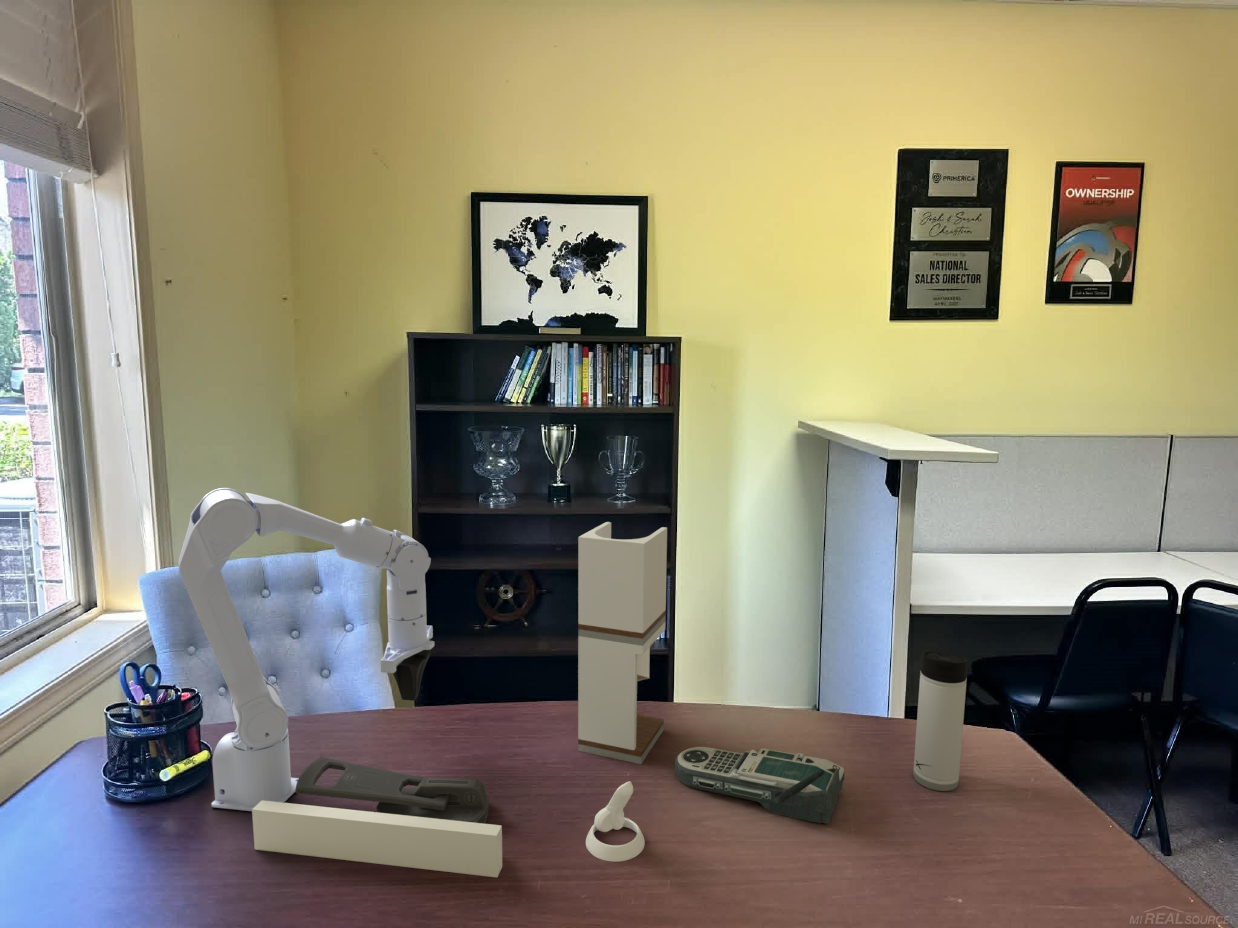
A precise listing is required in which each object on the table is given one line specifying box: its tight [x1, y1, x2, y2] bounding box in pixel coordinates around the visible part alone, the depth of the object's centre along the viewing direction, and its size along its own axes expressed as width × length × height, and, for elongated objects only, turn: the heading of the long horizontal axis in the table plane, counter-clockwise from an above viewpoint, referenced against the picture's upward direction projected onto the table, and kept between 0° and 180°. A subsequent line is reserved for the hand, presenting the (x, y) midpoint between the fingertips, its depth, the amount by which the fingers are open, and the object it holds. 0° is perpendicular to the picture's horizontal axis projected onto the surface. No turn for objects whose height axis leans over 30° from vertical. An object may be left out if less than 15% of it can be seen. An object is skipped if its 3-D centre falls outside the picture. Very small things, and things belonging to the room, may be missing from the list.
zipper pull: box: [294, 756, 489, 824], centre depth 103 cm, size 9×7×25 cm
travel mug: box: [912, 650, 969, 792], centre depth 112 cm, size 6×7×20 cm
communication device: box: [674, 746, 845, 825], centre depth 110 cm, size 12×24×9 cm, turn 63°
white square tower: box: [577, 521, 668, 765], centre depth 122 cm, size 11×11×35 cm
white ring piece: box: [585, 781, 646, 863], centre depth 96 cm, size 8×12×7 cm
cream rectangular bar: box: [251, 800, 503, 878], centre depth 95 cm, size 32×4×6 cm, turn 81°
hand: (409, 698), depth 118 cm, fingers closed
